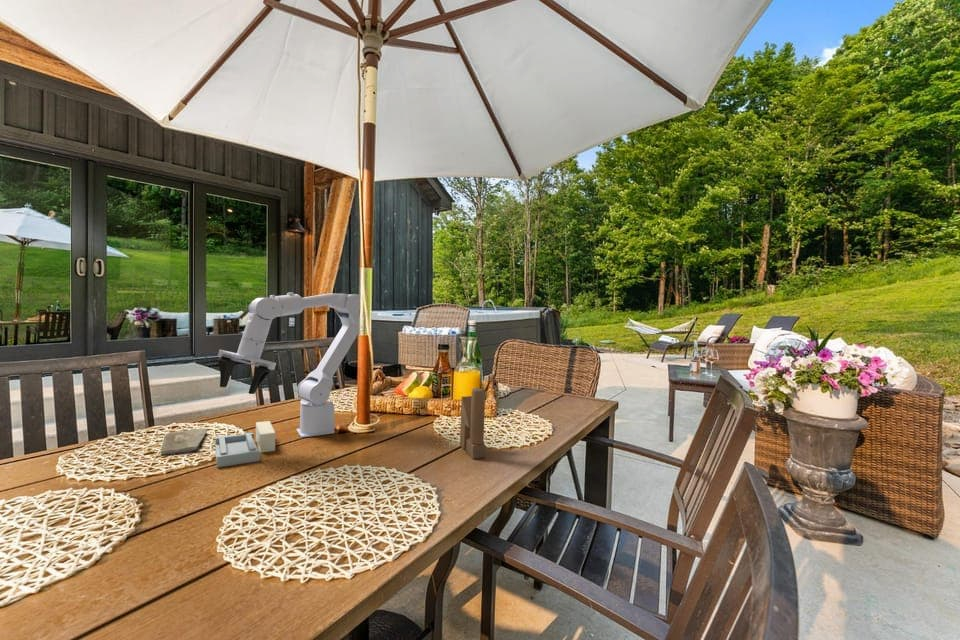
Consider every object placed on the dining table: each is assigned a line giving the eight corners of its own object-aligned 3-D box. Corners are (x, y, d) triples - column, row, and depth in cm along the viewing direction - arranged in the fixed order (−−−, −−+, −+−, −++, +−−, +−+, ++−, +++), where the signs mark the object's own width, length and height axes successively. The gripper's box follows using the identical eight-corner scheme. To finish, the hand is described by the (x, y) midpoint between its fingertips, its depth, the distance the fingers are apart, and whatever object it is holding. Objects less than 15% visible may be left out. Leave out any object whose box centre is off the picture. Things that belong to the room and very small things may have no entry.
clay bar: (255, 439, 121) (255, 422, 121) (269, 438, 123) (269, 420, 123) (260, 453, 111) (260, 434, 111) (275, 451, 113) (275, 432, 113)
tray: (253, 441, 119) (253, 430, 119) (259, 460, 106) (259, 448, 106) (215, 446, 114) (215, 435, 114) (217, 467, 101) (217, 455, 101)
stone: (166, 432, 122) (207, 425, 127) (167, 442, 122) (208, 434, 127) (154, 449, 106) (202, 439, 111) (156, 460, 106) (204, 450, 111)
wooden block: (471, 444, 123) (473, 382, 122) (485, 458, 113) (488, 390, 112) (459, 446, 122) (461, 383, 121) (472, 459, 112) (474, 391, 111)
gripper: (218, 332, 111) (201, 383, 109) (274, 345, 112) (257, 397, 109) (232, 335, 118) (216, 383, 116) (284, 347, 119) (269, 396, 116)
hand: (237, 390), depth 113 cm, fingers open, 7 cm apart
